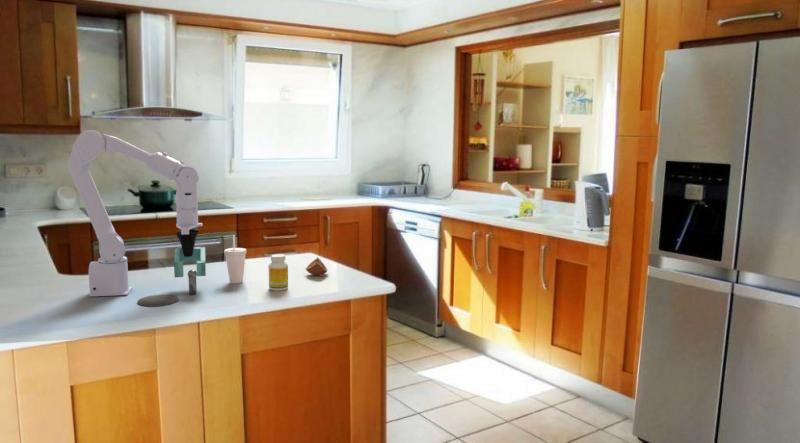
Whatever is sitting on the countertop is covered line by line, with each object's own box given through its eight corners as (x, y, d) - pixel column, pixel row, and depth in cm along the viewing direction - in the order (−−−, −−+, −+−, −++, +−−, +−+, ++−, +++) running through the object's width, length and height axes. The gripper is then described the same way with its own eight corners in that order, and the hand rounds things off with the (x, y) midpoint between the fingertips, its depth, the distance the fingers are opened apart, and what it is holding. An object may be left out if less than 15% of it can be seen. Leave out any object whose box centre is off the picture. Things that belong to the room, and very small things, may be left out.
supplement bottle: (266, 287, 180) (265, 254, 179) (284, 285, 183) (284, 252, 181) (272, 291, 175) (271, 258, 174) (290, 289, 178) (290, 256, 177)
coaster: (134, 307, 159) (134, 305, 159) (141, 297, 168) (141, 295, 168) (176, 305, 161) (176, 303, 161) (180, 295, 171) (180, 293, 171)
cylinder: (187, 295, 171) (186, 271, 170) (188, 293, 173) (187, 269, 172) (197, 294, 171) (196, 270, 170) (197, 292, 174) (197, 268, 173)
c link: (174, 277, 170) (173, 263, 169) (176, 260, 180) (175, 247, 179) (205, 275, 173) (205, 262, 171) (205, 259, 182) (205, 246, 181)
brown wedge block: (327, 278, 192) (327, 262, 192) (305, 278, 192) (304, 262, 191) (327, 272, 200) (327, 256, 200) (306, 272, 200) (306, 257, 199)
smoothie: (238, 278, 191) (237, 232, 189) (251, 281, 187) (250, 235, 185) (220, 282, 186) (219, 235, 184) (233, 285, 182) (232, 237, 180)
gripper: (199, 211, 172) (201, 260, 174) (203, 205, 186) (205, 250, 188) (172, 211, 170) (174, 261, 172) (178, 205, 184) (180, 251, 186)
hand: (188, 255), depth 180 cm, fingers closed on c link, 2 cm apart
